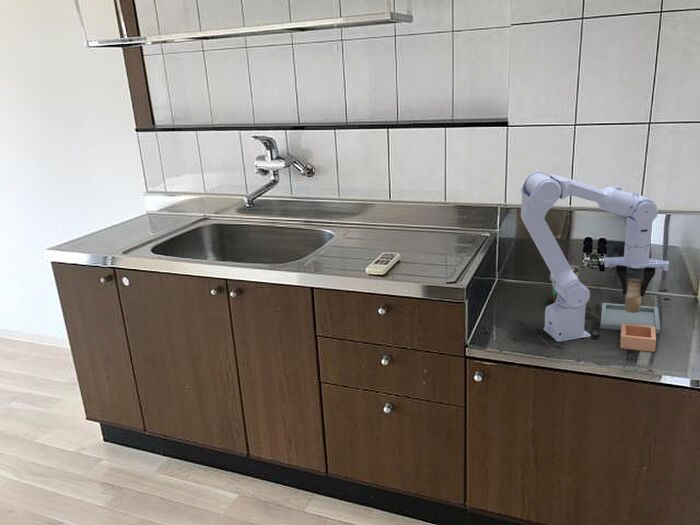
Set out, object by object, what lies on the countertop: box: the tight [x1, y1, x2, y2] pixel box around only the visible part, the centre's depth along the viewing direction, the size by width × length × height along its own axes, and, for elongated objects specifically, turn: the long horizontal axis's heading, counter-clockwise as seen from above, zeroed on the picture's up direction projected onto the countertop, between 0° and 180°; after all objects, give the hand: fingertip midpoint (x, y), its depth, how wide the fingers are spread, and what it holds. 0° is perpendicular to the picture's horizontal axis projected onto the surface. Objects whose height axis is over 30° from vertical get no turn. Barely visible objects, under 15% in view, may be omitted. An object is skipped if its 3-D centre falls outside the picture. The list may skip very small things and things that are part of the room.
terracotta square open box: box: [619, 323, 657, 353], centre depth 147 cm, size 8×8×4 cm
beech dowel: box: [624, 278, 643, 313], centre depth 152 cm, size 4×4×8 cm
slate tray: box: [599, 302, 661, 335], centre depth 159 cm, size 14×14×2 cm
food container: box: [549, 264, 581, 304], centre depth 173 cm, size 12×6×10 cm, turn 141°
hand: (633, 293), depth 152 cm, fingers closed on beech dowel, 4 cm apart
